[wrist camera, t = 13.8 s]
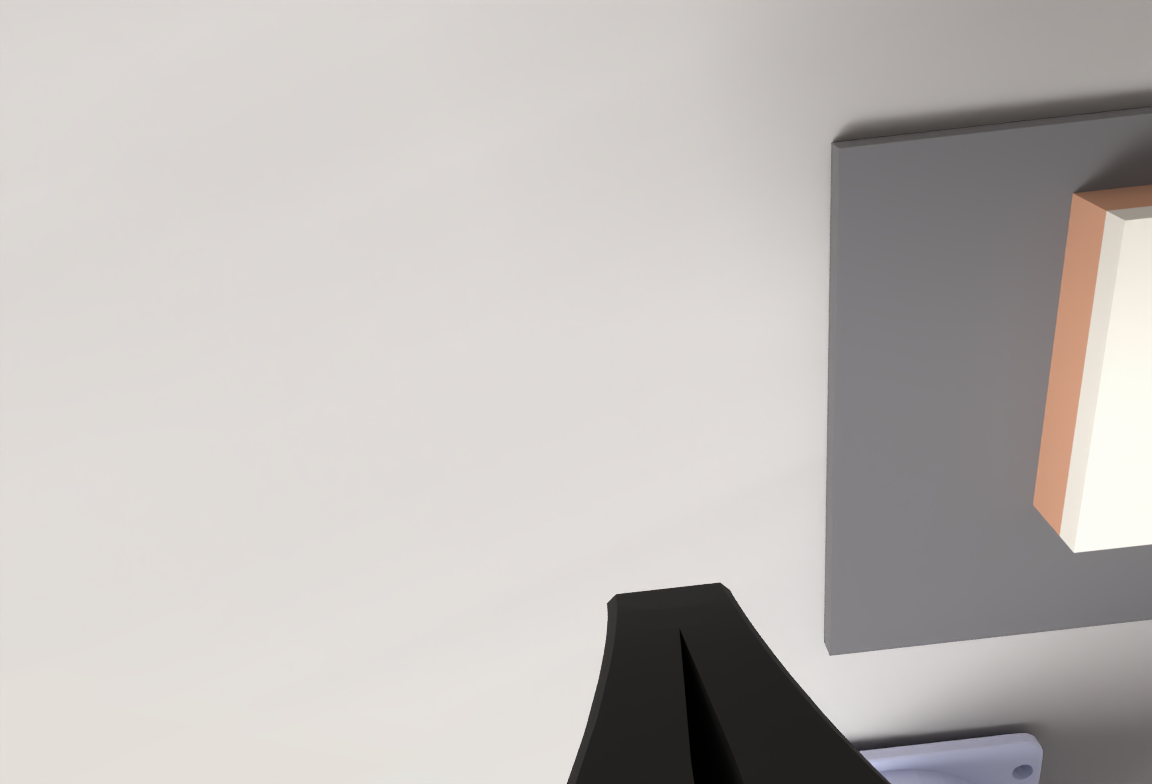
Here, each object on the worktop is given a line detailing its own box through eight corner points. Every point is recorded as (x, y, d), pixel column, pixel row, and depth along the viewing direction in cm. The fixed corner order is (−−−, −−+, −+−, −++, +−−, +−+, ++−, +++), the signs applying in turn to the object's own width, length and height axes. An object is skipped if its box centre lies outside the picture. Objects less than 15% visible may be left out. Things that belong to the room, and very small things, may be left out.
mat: (1318, 585, 24) (1333, 598, 23) (823, 641, 24) (830, 655, 23) (1468, 71, 19) (1491, 75, 18) (831, 142, 18) (839, 148, 18)
